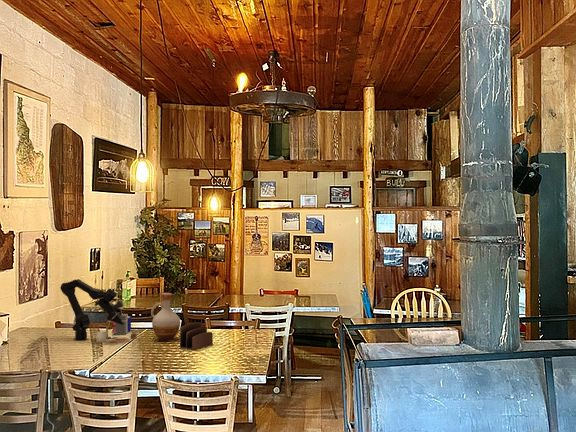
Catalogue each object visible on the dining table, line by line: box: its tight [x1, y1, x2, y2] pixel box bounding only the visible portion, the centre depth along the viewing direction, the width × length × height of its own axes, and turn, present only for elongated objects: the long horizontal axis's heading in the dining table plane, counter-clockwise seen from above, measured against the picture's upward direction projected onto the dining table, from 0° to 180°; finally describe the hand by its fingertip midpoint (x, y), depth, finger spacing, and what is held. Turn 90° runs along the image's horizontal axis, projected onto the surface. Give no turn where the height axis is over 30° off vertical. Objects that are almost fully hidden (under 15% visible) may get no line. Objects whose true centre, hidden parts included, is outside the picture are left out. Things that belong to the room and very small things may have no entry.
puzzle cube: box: [111, 316, 132, 334], centre depth 391 cm, size 10×10×10 cm
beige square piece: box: [96, 330, 107, 343], centre depth 358 cm, size 6×6×6 cm
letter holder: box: [179, 321, 214, 351], centre depth 343 cm, size 10×20×14 cm, turn 151°
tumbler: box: [116, 313, 129, 336], centre depth 359 cm, size 6×6×12 cm
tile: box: [113, 337, 131, 344], centre depth 359 cm, size 8×8×1 cm
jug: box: [150, 292, 181, 342], centre depth 364 cm, size 20×18×30 cm
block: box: [130, 332, 138, 340], centre depth 367 cm, size 3×3×3 cm
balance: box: [95, 324, 118, 340], centre depth 367 cm, size 15×5×10 cm, turn 122°
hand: (123, 323), depth 359 cm, fingers closed on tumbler, 6 cm apart
